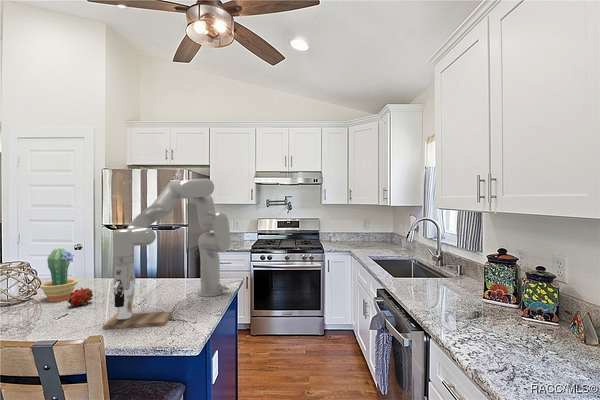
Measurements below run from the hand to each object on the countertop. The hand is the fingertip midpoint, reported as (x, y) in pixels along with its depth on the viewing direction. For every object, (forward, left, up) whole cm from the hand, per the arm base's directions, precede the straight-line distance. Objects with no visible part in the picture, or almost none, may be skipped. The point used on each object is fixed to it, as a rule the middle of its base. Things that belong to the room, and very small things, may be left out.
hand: (124, 302), depth 131 cm
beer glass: (0, 0, -6) cm, 6 cm away
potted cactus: (+45, -39, -8) cm, 60 cm away
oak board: (-6, +1, -8) cm, 10 cm away
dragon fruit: (+29, -26, -8) cm, 40 cm away
